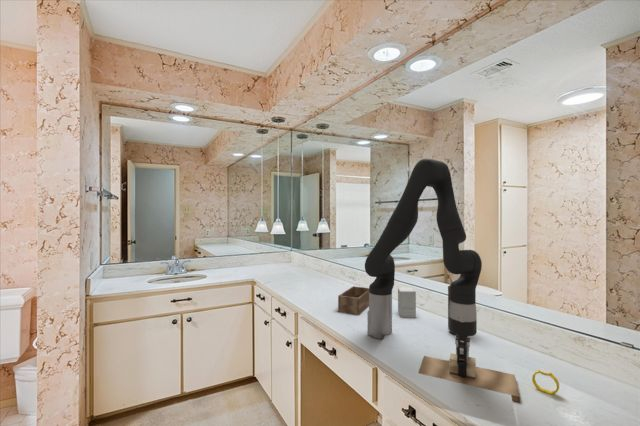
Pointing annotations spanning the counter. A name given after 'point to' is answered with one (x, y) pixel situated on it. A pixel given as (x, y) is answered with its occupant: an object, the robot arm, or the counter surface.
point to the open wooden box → (353, 300)
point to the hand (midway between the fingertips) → (462, 372)
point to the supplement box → (407, 302)
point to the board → (483, 379)
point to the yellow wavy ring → (547, 373)
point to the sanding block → (470, 366)
